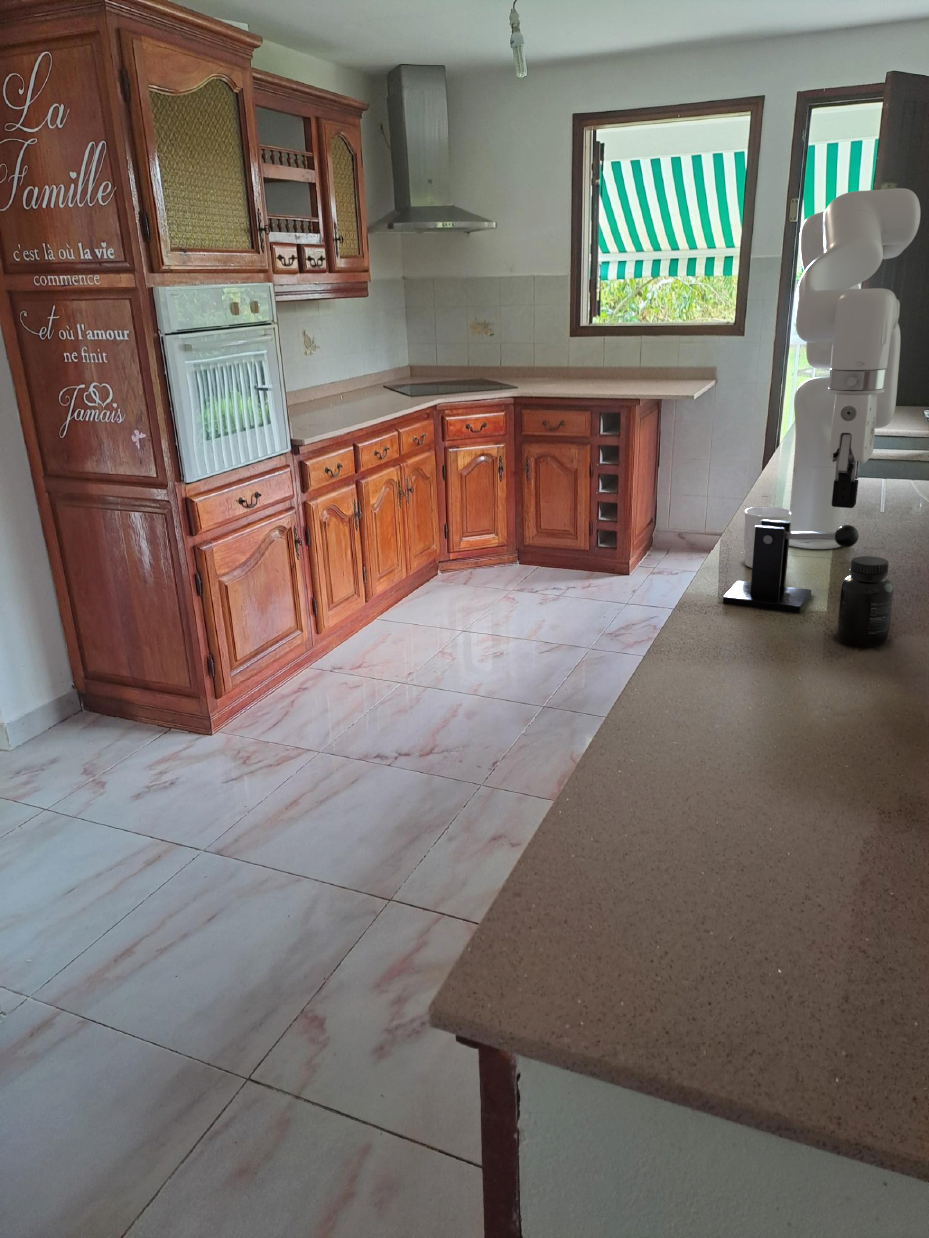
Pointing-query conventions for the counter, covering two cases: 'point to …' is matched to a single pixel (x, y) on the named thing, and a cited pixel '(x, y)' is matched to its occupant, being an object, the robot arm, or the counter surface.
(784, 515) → the white cup
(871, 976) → the counter surface
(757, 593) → the black lever stand
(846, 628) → the supplement bottle
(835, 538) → the tap lever
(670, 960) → the counter surface
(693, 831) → the counter surface
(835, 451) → the robot arm
